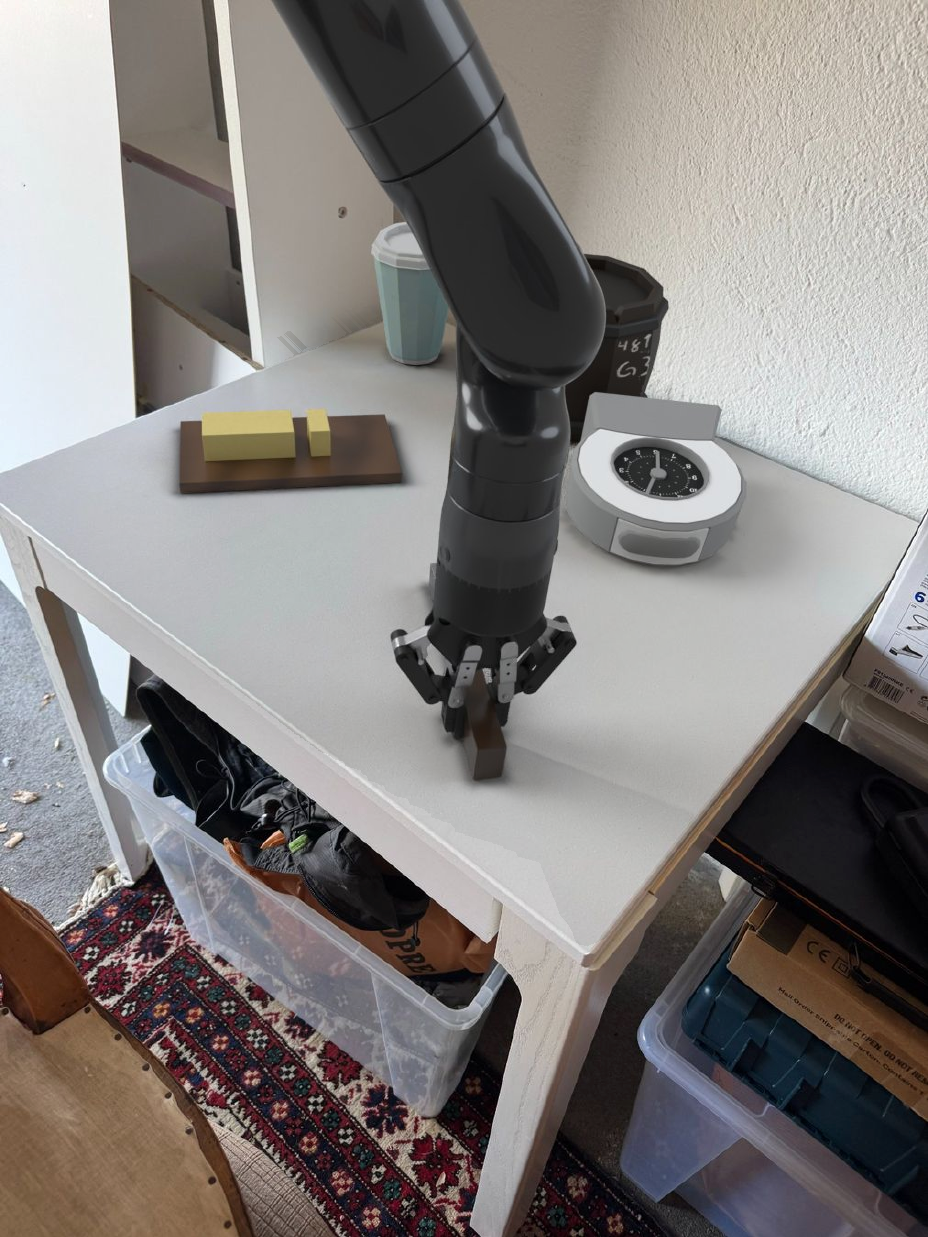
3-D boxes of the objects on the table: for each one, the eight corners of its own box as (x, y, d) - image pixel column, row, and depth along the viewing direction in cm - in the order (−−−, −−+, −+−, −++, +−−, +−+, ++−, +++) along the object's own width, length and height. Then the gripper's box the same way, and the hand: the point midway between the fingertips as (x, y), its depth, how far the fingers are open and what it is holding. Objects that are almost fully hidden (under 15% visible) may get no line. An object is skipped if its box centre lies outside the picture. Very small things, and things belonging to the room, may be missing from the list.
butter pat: (311, 456, 96) (310, 431, 94) (307, 434, 99) (306, 409, 97) (330, 456, 96) (330, 430, 94) (326, 433, 99) (325, 408, 97)
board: (180, 493, 91) (178, 483, 90) (181, 430, 100) (180, 420, 99) (401, 482, 96) (402, 472, 95) (384, 423, 104) (384, 414, 103)
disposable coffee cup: (432, 381, 113) (439, 257, 103) (354, 359, 115) (354, 236, 105) (466, 348, 120) (477, 230, 110) (392, 328, 123) (396, 211, 113)
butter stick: (205, 461, 93) (202, 435, 91) (204, 438, 97) (201, 412, 95) (295, 457, 95) (294, 431, 93) (292, 434, 98) (291, 409, 96)
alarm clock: (738, 403, 96) (766, 525, 83) (716, 470, 102) (738, 592, 89) (573, 385, 96) (575, 504, 83) (561, 453, 102) (560, 573, 89)
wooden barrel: (517, 360, 119) (533, 235, 108) (654, 394, 115) (684, 267, 104) (468, 423, 106) (481, 288, 95) (620, 463, 102) (651, 327, 91)
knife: (502, 777, 68) (507, 746, 65) (472, 780, 67) (477, 750, 65) (443, 586, 83) (446, 556, 81) (419, 588, 83) (421, 558, 81)
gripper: (580, 508, 64) (545, 684, 75) (381, 520, 61) (375, 701, 72) (616, 577, 58) (572, 755, 70) (399, 593, 55) (390, 776, 67)
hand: (472, 727), depth 71 cm, fingers closed on knife, 2 cm apart
